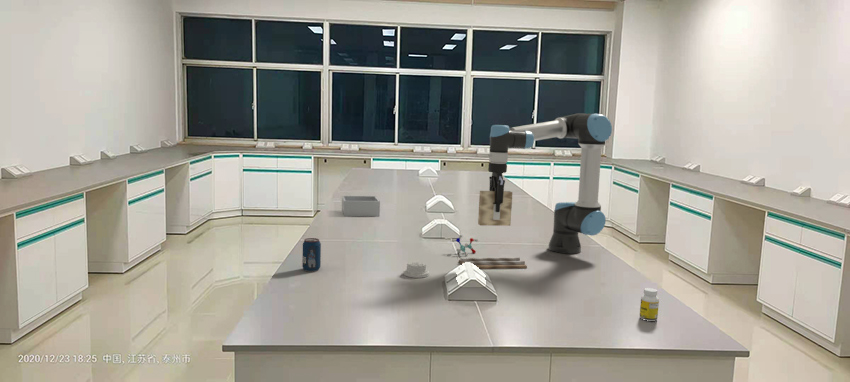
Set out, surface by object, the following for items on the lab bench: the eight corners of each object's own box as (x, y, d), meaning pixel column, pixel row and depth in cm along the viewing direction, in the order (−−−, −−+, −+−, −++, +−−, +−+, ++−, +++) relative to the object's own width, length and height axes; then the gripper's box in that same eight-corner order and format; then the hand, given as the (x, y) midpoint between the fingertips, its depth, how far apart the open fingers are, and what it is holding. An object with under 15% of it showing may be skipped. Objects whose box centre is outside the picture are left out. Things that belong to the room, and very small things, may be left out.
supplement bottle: (636, 316, 199) (639, 287, 198) (652, 316, 199) (655, 287, 198) (643, 322, 193) (646, 292, 192) (660, 322, 194) (663, 292, 193)
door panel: (507, 224, 259) (509, 191, 257) (510, 225, 256) (512, 192, 254) (478, 223, 257) (479, 190, 255) (480, 225, 253) (482, 191, 251)
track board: (516, 261, 267) (517, 256, 267) (526, 268, 255) (527, 263, 255) (458, 261, 262) (459, 256, 261) (466, 269, 250) (466, 263, 250)
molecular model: (476, 250, 269) (467, 229, 272) (456, 259, 271) (448, 238, 274) (483, 252, 280) (474, 232, 283) (464, 261, 282) (455, 240, 285)
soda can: (313, 266, 245) (314, 237, 243) (323, 270, 240) (324, 240, 238) (298, 269, 240) (299, 239, 238) (308, 273, 235) (309, 242, 233)
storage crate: (375, 210, 384) (375, 196, 383) (379, 216, 364) (379, 201, 363) (341, 210, 380) (341, 195, 379) (343, 216, 360) (344, 201, 359)
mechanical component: (424, 279, 233) (432, 273, 242) (424, 268, 232) (432, 262, 241) (399, 276, 236) (408, 270, 245) (399, 265, 235) (409, 259, 245)
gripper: (483, 160, 260) (480, 215, 263) (495, 164, 244) (492, 222, 247) (500, 161, 262) (497, 215, 265) (513, 164, 245) (509, 222, 248)
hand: (494, 218), depth 256 cm, fingers closed on door panel, 3 cm apart
